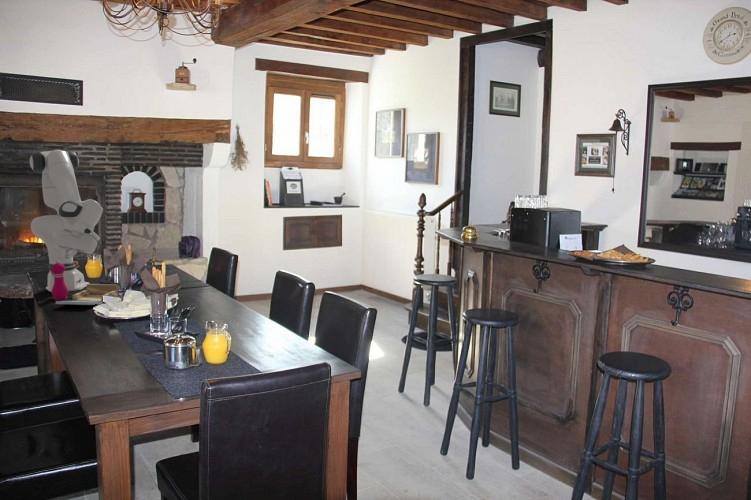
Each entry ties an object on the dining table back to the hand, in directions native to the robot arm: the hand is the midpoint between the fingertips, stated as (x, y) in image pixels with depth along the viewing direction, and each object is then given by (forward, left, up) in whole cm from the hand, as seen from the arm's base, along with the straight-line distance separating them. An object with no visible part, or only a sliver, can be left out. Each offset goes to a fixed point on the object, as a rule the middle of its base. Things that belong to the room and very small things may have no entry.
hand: (66, 258), depth 294 cm
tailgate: (-11, +2, -23) cm, 25 cm away
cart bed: (-18, +2, -24) cm, 31 cm away
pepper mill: (-17, -15, -24) cm, 34 cm away
